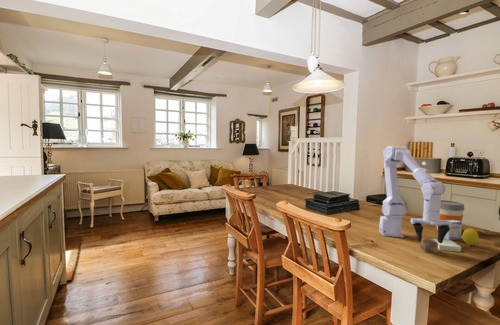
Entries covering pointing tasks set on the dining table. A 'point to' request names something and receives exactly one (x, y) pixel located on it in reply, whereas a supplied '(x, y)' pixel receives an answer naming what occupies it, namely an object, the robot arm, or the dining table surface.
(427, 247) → the walnut cube
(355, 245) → the dining table surface
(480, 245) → the dining table surface
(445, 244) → the base brick
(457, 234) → the medicine box
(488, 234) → the dining table surface
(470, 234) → the lemon
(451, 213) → the reusable coffee cup
